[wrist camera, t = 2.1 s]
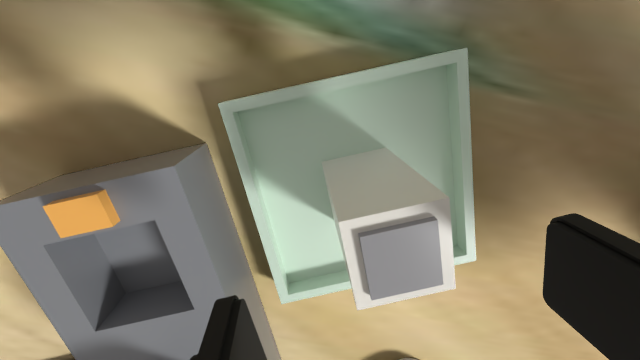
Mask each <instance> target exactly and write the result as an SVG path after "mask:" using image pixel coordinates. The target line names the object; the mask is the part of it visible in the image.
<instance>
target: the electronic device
mask: <svg viewBox="0 0 640 360" xmlns="http://www.w3.org/2000/svg"><path fill="white" fill-rule="evenodd" d="M398 360H418V359H414V358H402V359H398Z"/></svg>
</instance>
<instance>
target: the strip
mask: <svg viewBox="0 0 640 360" xmlns="http://www.w3.org/2000/svg"><path fill="white" fill-rule="evenodd" d="M0 246H1V247H2V249H3V251H4V252H5V254H6V255H7V257H8V258H9V260H10V261H11V263H12V264H13V266H14V267H15V269H16V270H17V272H18V273H19V275H20V276H21V278H22V279H23V281H24V282H25V284H26V285H27V287H28V288H29V290H30V291H31V293H32V294H33V296H34V297H35V299H36V300H37V302H38V303H39V305H40V307H41V308H42V310H43V311H44V313H45V314H46V316H47V317H48V319H49V320H50V322H51V323H52V325H53V326H54V328H55V329H56V331H57V332H58V334H59V335H60V337H61V338H62V340H63V341H64V343H65V344H66V346H67V347H68V349H69V350H70V352H71V353H72V355H73V356H74V358H75V359H76V360H190V358H191V357H192V356H193V355H197V354H198V352H199V349H200V346H201V343H202V340H203V337H204V334H205V331H206V327H207V324H208V321H209V318H210V315H211V312H212V309H213V306H214V303H215V301H216V300H217V299H221V298H225V297H229V296H233V295H236V296H237V297H238V298H239V299H244V300H245V301H246V304H247V307H248V309H249V312H250V315H251V317H252V320H253V323H254V325H255V328H256V331H257V333H258V336H259V339H260V341H261V344H262V347H263V349H264V352H265V355H266V357H267V360H281V357H280V354H279V351H278V349H277V346H276V343H275V340H274V337H273V334H272V331H271V328H270V325H269V322H268V320H267V317H266V314H265V311H264V308H263V305H262V302H261V299H260V296H259V294H258V291H257V288H256V285H255V282H254V279H253V276H252V273H251V270H250V267H249V265H248V262H247V259H246V256H245V253H244V250H243V247H242V244H241V241H240V238H239V236H238V233H237V230H236V227H235V224H234V221H233V218H232V215H231V212H230V209H229V207H228V204H227V201H226V198H225V195H224V192H223V189H222V186H221V183H220V181H219V178H218V175H217V172H216V169H215V166H214V163H213V160H212V157H211V154H210V152H209V149H208V146H207V143H204V144H199V145H195V146H190V147H186V148H181V149H177V150H172V151H168V152H163V153H159V154H154V155H150V156H145V157H141V158H137V159H132V160H128V161H123V162H119V163H114V164H110V165H105V166H101V167H96V168H92V169H87V170H83V171H79V172H74V173H70V174H65V175H61V176H58V177H56V178H53V179H51V180H49V181H46V182H44V183H41V184H39V185H37V186H34V187H32V188H29V189H27V190H24V191H22V192H20V193H17V194H15V195H12V196H10V197H8V198H5V199H3V200H0Z"/></svg>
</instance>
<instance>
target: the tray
mask: <svg viewBox="0 0 640 360" xmlns="http://www.w3.org/2000/svg"><path fill="white" fill-rule="evenodd" d="M218 106H219V109H220V112H221V115H222V118H223V122H224V125H225V128H226V131H227V134H228V137H229V140H230V144H231V147H232V150H233V153H234V156H235V159H236V162H237V166H238V169H239V172H240V175H241V178H242V181H243V185H244V188H245V191H246V194H247V197H248V200H249V203H250V207H251V210H252V213H253V216H254V219H255V222H256V225H257V229H258V232H259V235H260V238H261V241H262V244H263V247H264V251H265V254H266V257H267V260H268V263H269V266H270V269H271V273H272V276H273V279H274V282H275V285H276V288H277V292H278V295H279V298H280V301H281V304H284V303H289V302H293V301H297V300H302V299H306V298H311V297H315V296H320V295H324V294H329V293H333V292H338V291H342V290H347V289H351V284H350V280H349V276H348V273H347V269H346V265H345V261H344V257H343V253H342V249H341V245H340V241H339V238H338V234H337V230H336V226H335V222H334V218H333V213H332V209H331V204H330V199H329V195H328V190H327V186H326V181H325V176H324V172H323V167H322V163H321V162H323V161H327V160H332V159H336V158H341V157H345V156H350V155H354V154H359V153H363V152H368V151H372V150H377V149H381V148H385V147H386V148H387V149H389V150H390V151H391V152H392V153H394V154H395V155H396V156H397V157H399V158H400V159H401V160H403V161H404V162H405V163H406V164H408V165H409V166H410V167H411V168H413V169H414V170H415V171H416V172H418V173H419V174H420V175H422V176H423V177H424V178H425V179H427V180H428V181H429V182H430V183H432V184H433V185H434V186H435V187H437V188H438V189H439V190H441V191H442V192H443V193H444V194H446V195H447V196H448V197H449V199H450V213H451V227H452V242H453V256H454V265H459V264H463V263H468V262H472V261H476V245H475V220H474V195H473V170H472V145H471V120H470V95H469V70H468V48H463V49H457V50H451V51H446V52H442V53H438V54H433V55H429V56H424V57H420V58H415V59H411V60H406V61H402V62H397V63H393V64H388V65H384V66H379V67H375V68H371V69H366V70H362V71H357V72H353V73H348V74H344V75H339V76H335V77H330V78H326V79H321V80H317V81H313V82H308V83H304V84H299V85H295V86H290V87H286V88H281V89H277V90H272V91H268V92H263V93H259V94H255V95H250V96H246V97H241V98H237V99H232V100H228V101H224V102H221V103H218Z"/></svg>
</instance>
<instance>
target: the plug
mask: <svg viewBox="0 0 640 360" xmlns="http://www.w3.org/2000/svg"><path fill="white" fill-rule="evenodd" d="M321 163H322V167H323V172H324V176H325V181H326V186H327V190H328V195H329V199H330V204H331V209H332V213H333V218H334V222H335V226H336V230H337V234H338V238H339V241H340V245H341V249H342V253H343V257H344V261H345V265H346V269H347V273H348V276H349V280H350V284H351V288H352V292H353V296H354V300H355V304H356V308H357V310H362V309H366V308H371V307H375V306H380V305H384V304H388V303H393V302H397V301H402V300H406V299H411V298H415V297H420V296H424V295H429V294H433V293H438V292H442V291H447V290H451V289H456V285H455V270H454V256H453V242H452V227H451V213H450V199H449V197H448V196H447V195H446V194H444V193H443V192H442V191H441V190H439V189H438V188H437V187H435V186H434V185H433V184H432V183H430V182H429V181H428V180H427V179H425V178H424V177H423V176H422V175H420V174H419V173H418V172H416V171H415V170H414V169H413V168H411V167H410V166H409V165H408V164H406V163H405V162H404V161H403V160H401V159H400V158H399V157H397V156H396V155H395V154H394V153H392V152H391V151H390V150H389V149H387V148H386V147H385V148H381V149H377V150H372V151H368V152H363V153H359V154H354V155H350V156H345V157H341V158H336V159H332V160H327V161H323V162H321Z"/></svg>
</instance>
